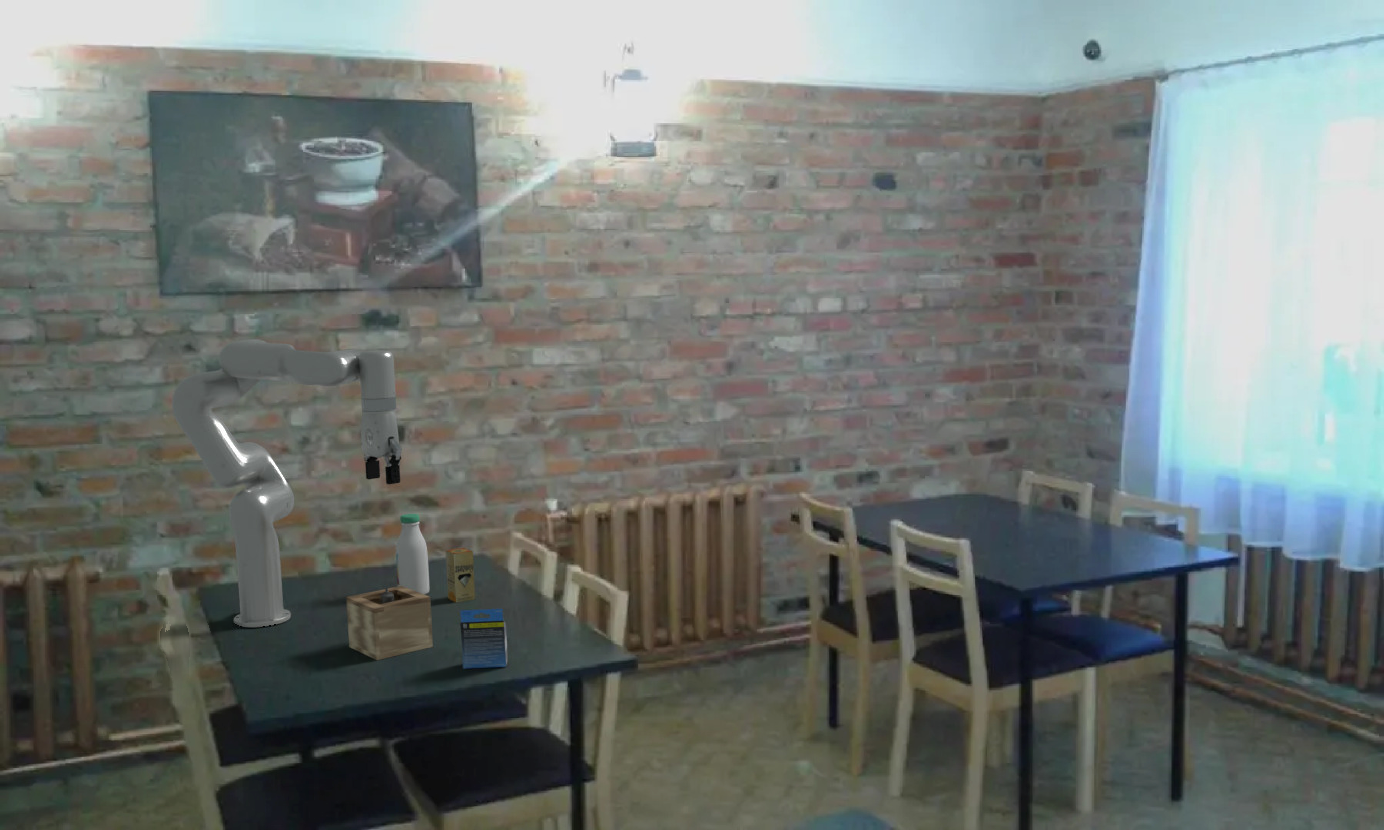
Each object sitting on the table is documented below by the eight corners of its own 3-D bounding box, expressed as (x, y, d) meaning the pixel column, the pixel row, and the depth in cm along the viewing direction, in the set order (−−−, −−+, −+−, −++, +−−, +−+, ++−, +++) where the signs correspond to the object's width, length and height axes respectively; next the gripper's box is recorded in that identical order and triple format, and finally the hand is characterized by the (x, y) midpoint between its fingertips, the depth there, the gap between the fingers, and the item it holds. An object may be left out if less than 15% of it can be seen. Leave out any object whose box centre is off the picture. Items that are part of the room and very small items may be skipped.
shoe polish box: (475, 599, 304) (472, 551, 303) (456, 602, 301) (453, 554, 300) (466, 595, 308) (464, 547, 307) (448, 598, 306) (445, 550, 304)
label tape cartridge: (508, 661, 255) (505, 603, 254) (506, 667, 251) (503, 608, 250) (464, 663, 255) (462, 604, 253) (462, 669, 251) (459, 609, 249)
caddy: (349, 646, 268) (346, 597, 266) (403, 634, 276) (401, 585, 275) (376, 660, 258) (374, 608, 257) (432, 646, 266) (430, 596, 265)
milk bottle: (436, 591, 312) (432, 513, 310) (413, 599, 305) (409, 519, 303) (413, 588, 316) (409, 511, 314) (391, 595, 310) (387, 516, 307)
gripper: (346, 404, 282) (350, 478, 284) (381, 410, 269) (385, 487, 271) (376, 401, 287) (380, 474, 289) (412, 406, 274) (416, 483, 276)
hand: (383, 481), depth 280 cm, fingers open, 9 cm apart
